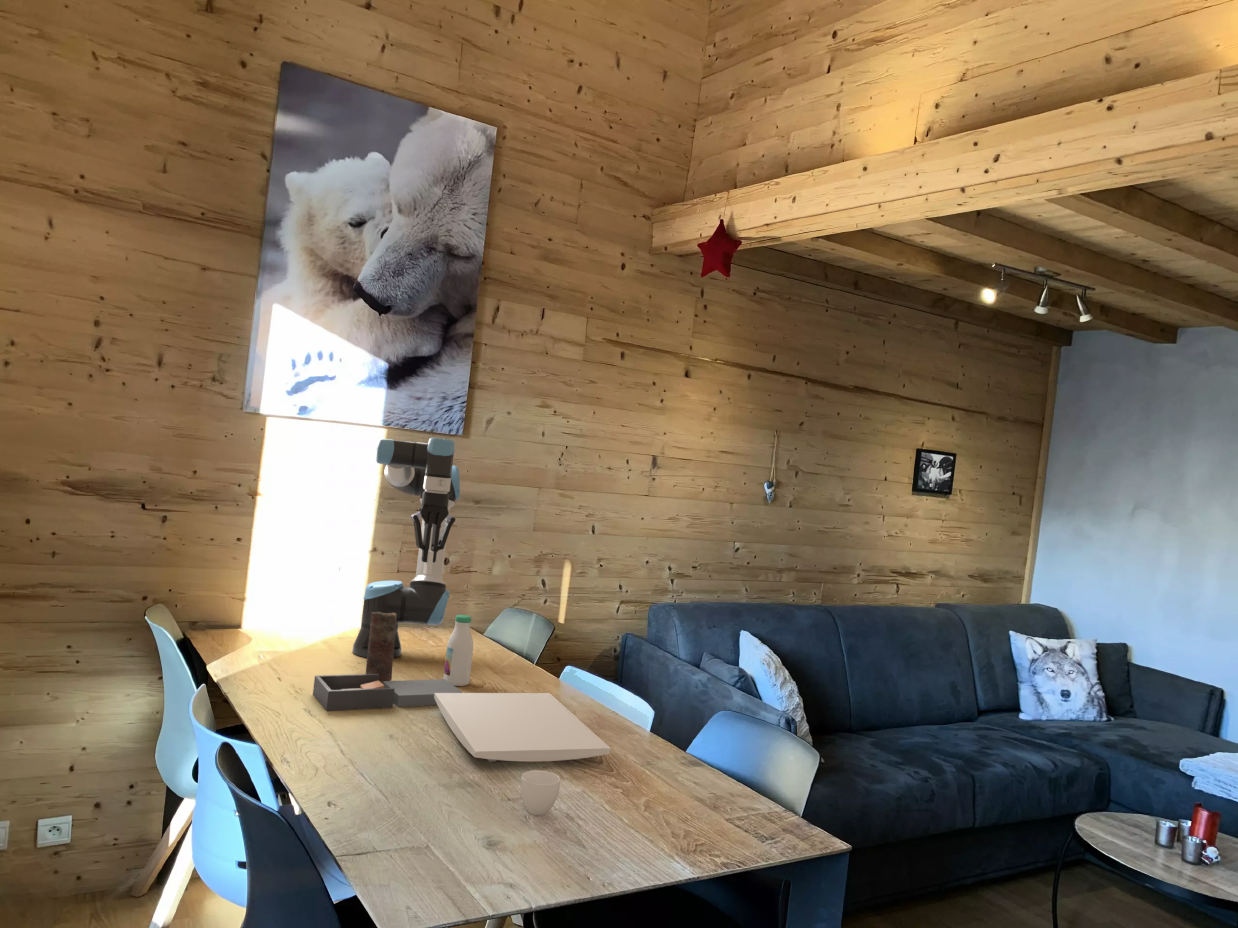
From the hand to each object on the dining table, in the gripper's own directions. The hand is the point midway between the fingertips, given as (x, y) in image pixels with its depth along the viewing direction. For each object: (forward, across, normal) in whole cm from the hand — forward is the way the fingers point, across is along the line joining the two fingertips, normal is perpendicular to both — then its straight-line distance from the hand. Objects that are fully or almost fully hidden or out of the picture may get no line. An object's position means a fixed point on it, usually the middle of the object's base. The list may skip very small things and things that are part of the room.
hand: (427, 573), depth 258 cm
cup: (+33, -5, -89) cm, 95 cm away
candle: (+33, -9, +6) cm, 34 cm away
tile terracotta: (+30, -16, -12) cm, 36 cm away
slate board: (+32, -2, -12) cm, 35 cm away
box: (+32, -21, -12) cm, 40 cm away
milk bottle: (+33, +13, +1) cm, 35 cm away
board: (+33, +10, -47) cm, 58 cm away
